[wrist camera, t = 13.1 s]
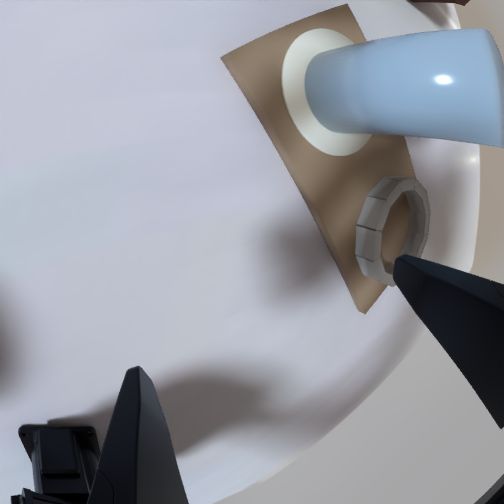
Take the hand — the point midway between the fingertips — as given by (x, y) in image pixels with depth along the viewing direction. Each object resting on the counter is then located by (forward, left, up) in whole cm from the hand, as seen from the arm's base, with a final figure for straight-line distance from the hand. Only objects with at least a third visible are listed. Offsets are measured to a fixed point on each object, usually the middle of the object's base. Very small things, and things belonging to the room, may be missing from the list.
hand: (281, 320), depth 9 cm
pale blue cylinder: (+13, -10, -9) cm, 19 cm away
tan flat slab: (+7, -15, -11) cm, 20 cm away
